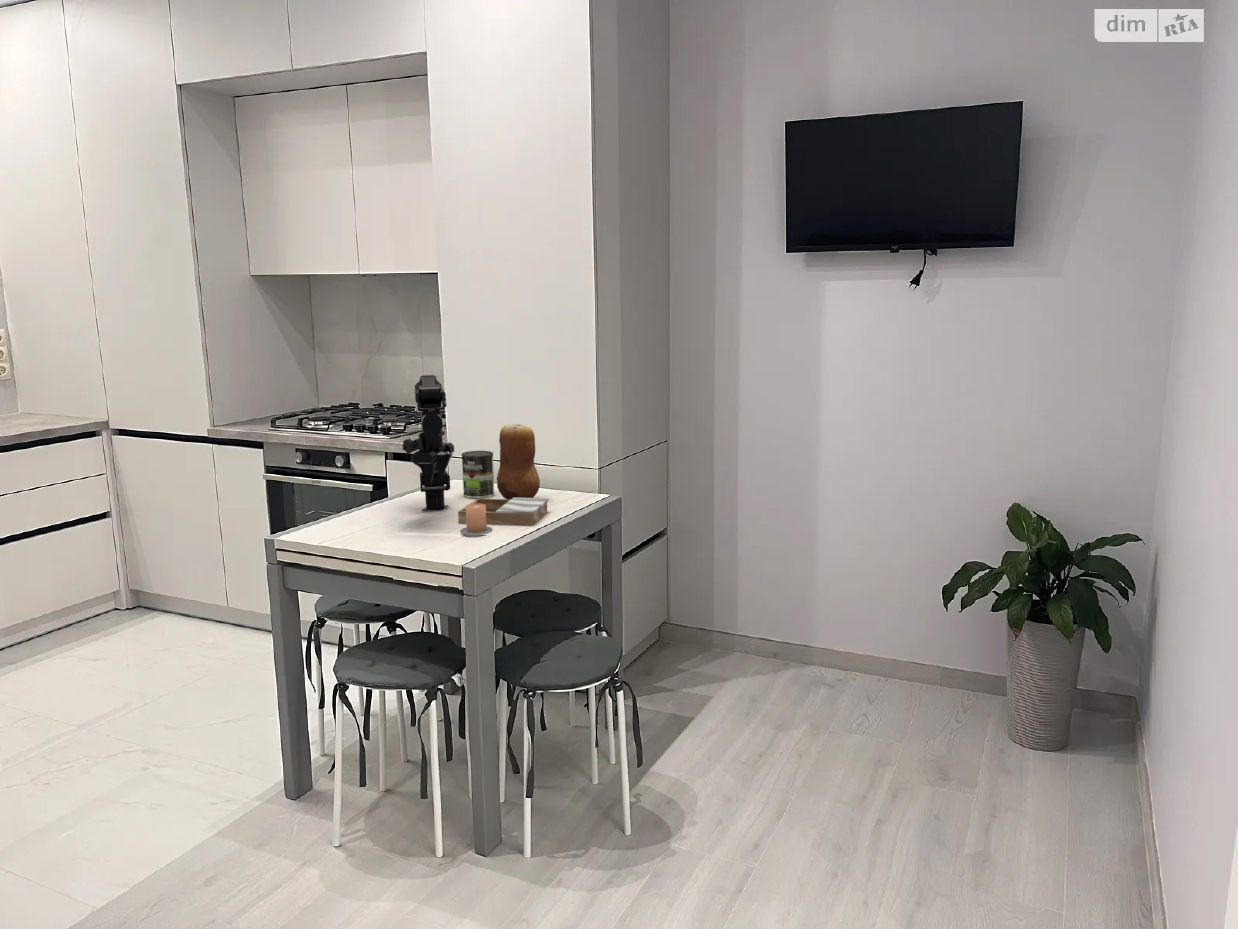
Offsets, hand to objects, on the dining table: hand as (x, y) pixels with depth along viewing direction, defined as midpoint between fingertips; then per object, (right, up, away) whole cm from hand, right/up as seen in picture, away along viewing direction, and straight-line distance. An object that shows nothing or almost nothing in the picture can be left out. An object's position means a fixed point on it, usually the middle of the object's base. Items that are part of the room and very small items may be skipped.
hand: (434, 481), depth 277 cm
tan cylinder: (+14, -13, -11) cm, 22 cm away
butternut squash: (+22, -7, +25) cm, 34 cm away
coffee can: (+8, -5, +36) cm, 37 cm away
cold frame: (+20, -11, +4) cm, 23 cm away
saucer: (+14, -14, -11) cm, 23 cm away
